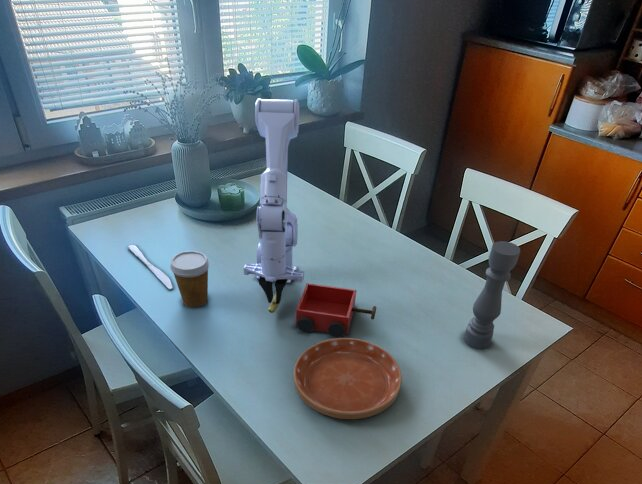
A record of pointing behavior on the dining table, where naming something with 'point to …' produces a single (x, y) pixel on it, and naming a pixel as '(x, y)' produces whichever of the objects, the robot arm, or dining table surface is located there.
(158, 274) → the butter knife
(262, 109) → the robot arm
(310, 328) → the cart wheels
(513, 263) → the candle holder
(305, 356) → the saucer
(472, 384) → the dining table surface
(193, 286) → the disposable coffee cup
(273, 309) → the banana
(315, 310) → the cart
